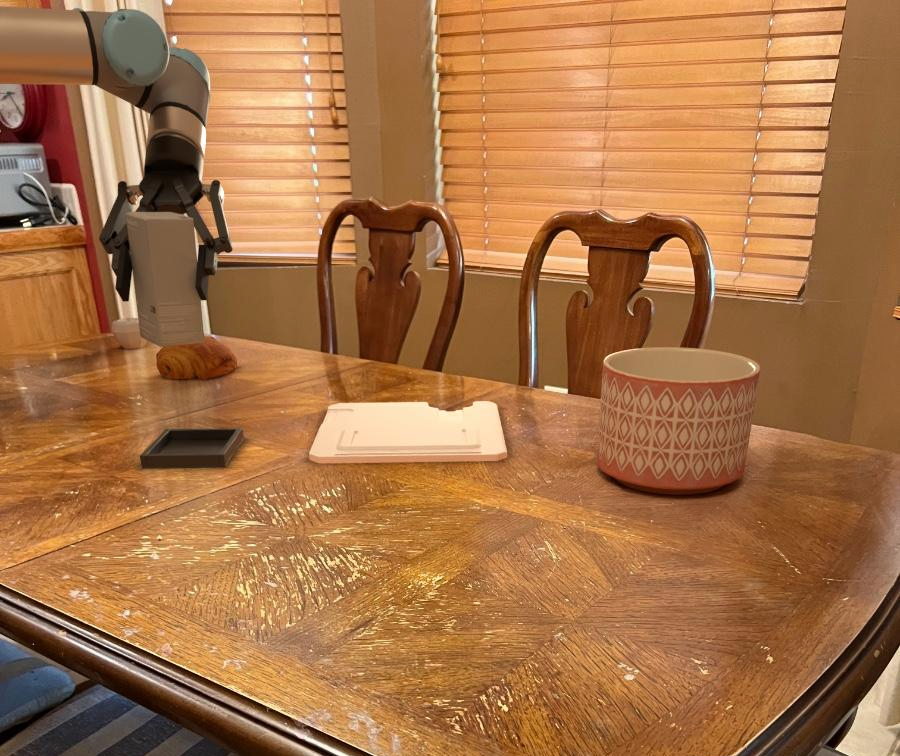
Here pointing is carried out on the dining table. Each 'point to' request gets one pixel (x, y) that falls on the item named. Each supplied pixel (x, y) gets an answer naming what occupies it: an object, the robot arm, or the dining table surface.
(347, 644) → the dining table surface
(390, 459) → the tray
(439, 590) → the dining table surface
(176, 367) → the croissant
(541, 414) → the dining table surface
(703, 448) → the planter
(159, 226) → the cosmetic box
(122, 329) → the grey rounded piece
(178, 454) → the pad
